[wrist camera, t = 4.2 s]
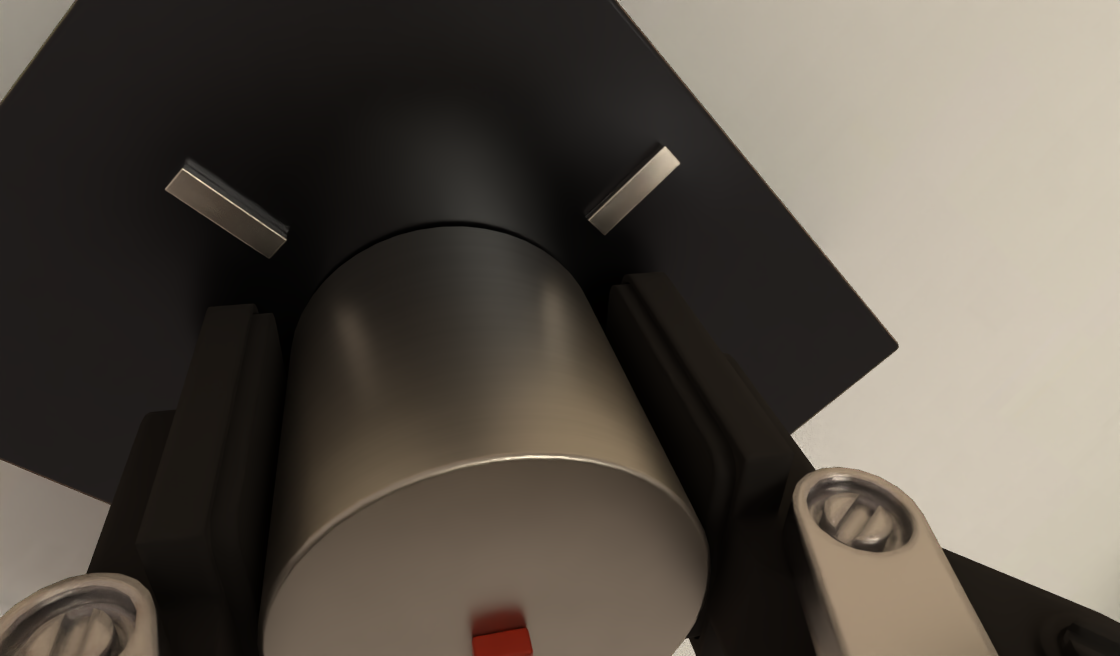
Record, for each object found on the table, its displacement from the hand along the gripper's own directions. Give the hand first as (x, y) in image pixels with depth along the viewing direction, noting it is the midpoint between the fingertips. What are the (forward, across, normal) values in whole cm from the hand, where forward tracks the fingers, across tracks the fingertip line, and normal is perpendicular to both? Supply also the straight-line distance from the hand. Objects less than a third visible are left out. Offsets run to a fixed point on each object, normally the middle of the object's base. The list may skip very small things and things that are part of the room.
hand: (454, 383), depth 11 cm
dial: (0, 0, 0) cm, 0 cm away
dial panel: (+4, 0, 0) cm, 4 cm away
